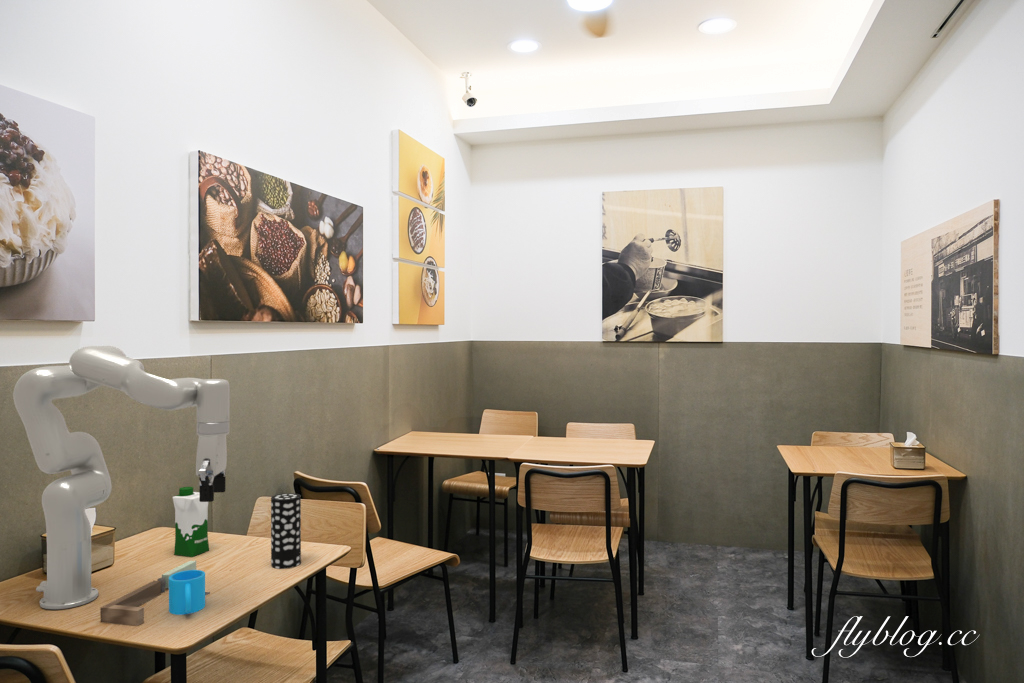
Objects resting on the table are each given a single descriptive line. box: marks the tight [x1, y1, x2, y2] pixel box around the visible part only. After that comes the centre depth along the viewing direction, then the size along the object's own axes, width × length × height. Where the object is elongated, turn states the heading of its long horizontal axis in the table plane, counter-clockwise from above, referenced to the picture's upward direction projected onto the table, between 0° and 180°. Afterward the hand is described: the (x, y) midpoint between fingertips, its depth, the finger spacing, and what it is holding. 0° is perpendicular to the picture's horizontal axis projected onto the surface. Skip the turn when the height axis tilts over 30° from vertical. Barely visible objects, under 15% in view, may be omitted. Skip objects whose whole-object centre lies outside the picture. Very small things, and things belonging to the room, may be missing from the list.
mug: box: [168, 569, 206, 616], centre depth 168 cm, size 12×8×8 cm
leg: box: [161, 560, 197, 589], centre depth 187 cm, size 12×2×4 cm, turn 169°
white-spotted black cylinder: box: [270, 492, 302, 570], centre depth 202 cm, size 8×8×20 cm
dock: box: [99, 577, 211, 627], centre depth 170 cm, size 14×21×4 cm, turn 169°
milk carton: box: [172, 486, 210, 558], centre depth 213 cm, size 9×9×20 cm
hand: (212, 496), depth 171 cm, fingers open, 9 cm apart
